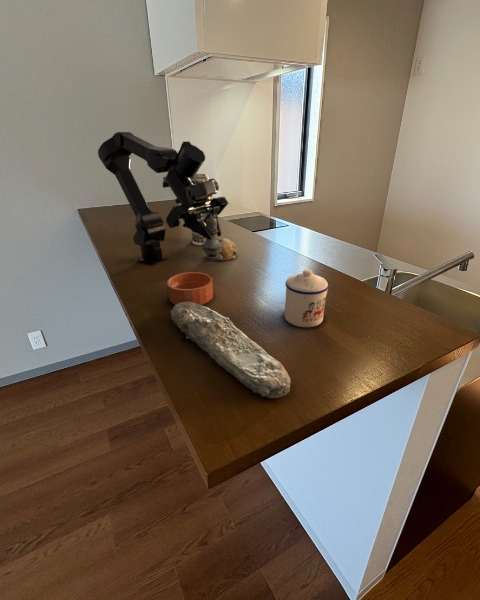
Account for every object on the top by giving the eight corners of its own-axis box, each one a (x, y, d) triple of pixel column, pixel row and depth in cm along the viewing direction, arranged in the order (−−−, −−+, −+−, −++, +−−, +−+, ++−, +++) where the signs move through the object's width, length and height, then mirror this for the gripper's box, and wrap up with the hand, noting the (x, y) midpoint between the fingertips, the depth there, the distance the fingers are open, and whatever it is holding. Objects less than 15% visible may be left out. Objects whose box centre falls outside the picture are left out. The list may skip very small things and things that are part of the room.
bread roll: (227, 271, 107) (237, 251, 103) (200, 257, 107) (208, 237, 103) (233, 261, 116) (242, 242, 112) (208, 248, 115) (216, 229, 111)
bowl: (160, 301, 81) (157, 283, 78) (189, 285, 89) (187, 269, 87) (194, 313, 75) (192, 294, 73) (221, 294, 84) (220, 277, 81)
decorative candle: (186, 242, 125) (180, 174, 114) (203, 237, 131) (199, 172, 120) (202, 247, 120) (197, 176, 108) (219, 241, 126) (216, 174, 114)
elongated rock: (259, 420, 48) (303, 393, 54) (262, 394, 46) (308, 369, 52) (159, 317, 72) (197, 306, 78) (157, 297, 70) (197, 287, 75)
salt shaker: (200, 260, 86) (197, 216, 80) (203, 253, 91) (201, 211, 85) (222, 261, 86) (221, 216, 80) (224, 253, 91) (223, 211, 85)
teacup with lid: (305, 333, 67) (310, 283, 62) (275, 316, 73) (277, 269, 68) (339, 315, 74) (347, 268, 68) (309, 301, 80) (313, 257, 75)
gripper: (168, 171, 73) (204, 226, 72) (222, 165, 86) (254, 212, 85) (151, 202, 82) (184, 252, 81) (203, 192, 94) (232, 235, 93)
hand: (215, 237), depth 85 cm, fingers closed on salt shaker, 3 cm apart
